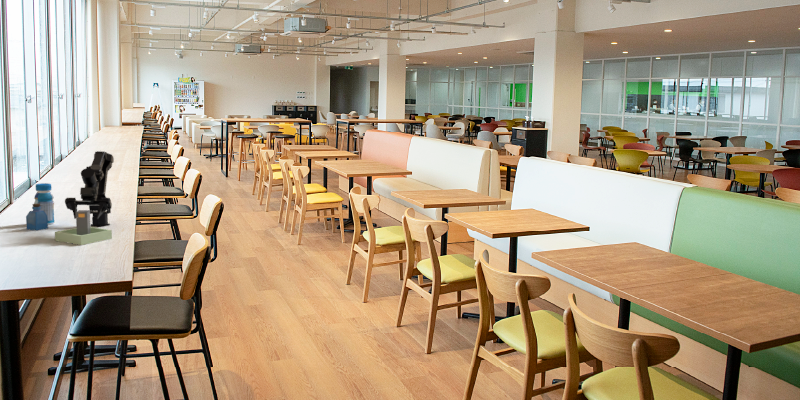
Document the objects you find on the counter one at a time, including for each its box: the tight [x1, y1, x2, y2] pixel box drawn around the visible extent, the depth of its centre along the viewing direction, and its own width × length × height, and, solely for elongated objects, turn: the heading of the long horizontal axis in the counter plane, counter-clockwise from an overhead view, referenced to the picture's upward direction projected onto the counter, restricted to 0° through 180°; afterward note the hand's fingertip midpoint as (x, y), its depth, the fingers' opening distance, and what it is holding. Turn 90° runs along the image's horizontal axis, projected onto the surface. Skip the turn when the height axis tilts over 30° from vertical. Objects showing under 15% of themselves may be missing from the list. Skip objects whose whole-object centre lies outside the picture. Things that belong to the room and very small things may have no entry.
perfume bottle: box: [25, 203, 49, 232], centre depth 286 cm, size 6×6×12 cm
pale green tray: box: [54, 226, 113, 246], centre depth 268 cm, size 16×16×4 cm
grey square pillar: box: [75, 209, 91, 235], centre depth 267 cm, size 5×4×12 cm
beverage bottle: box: [33, 183, 55, 226], centre depth 298 cm, size 8×8×20 cm
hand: (86, 218), depth 272 cm, fingers open, 9 cm apart
